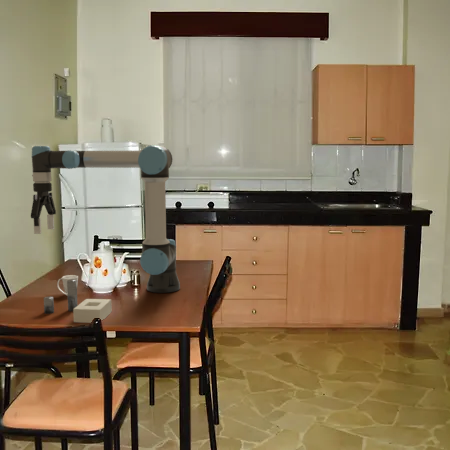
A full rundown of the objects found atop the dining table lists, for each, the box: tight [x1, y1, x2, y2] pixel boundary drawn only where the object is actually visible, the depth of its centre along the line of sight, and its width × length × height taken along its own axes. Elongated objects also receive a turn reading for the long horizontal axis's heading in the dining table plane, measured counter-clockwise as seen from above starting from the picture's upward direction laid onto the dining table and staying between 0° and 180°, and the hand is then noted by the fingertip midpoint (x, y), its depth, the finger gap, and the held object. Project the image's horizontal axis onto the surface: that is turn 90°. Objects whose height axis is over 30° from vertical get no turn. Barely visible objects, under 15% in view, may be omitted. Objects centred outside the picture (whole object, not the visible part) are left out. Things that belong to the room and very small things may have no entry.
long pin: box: [67, 279, 79, 312], centre depth 213 cm, size 4×4×12 cm
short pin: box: [43, 295, 55, 315], centre depth 210 cm, size 4×4×6 cm
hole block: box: [72, 298, 113, 324], centre depth 204 cm, size 10×14×5 cm
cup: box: [56, 274, 79, 297], centre depth 237 cm, size 7×10×8 cm
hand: (44, 231), depth 234 cm, fingers open, 13 cm apart
